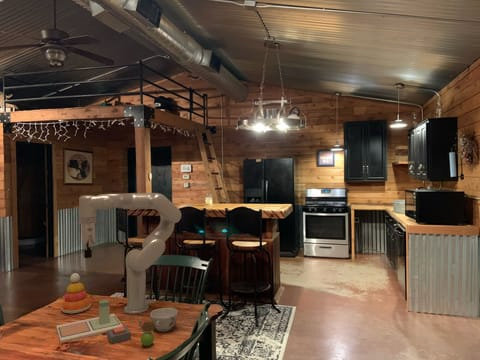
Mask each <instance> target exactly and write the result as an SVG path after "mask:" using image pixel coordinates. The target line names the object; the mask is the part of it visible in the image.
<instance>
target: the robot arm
mask: <svg viewBox="0 0 480 360" xmlns="http://www.w3.org/2000/svg"><path fill="white" fill-rule="evenodd" d="M78 199H79V200H78V201H79V203H78V209H79V211H78V213H79V214H78V215H79V218H78V220H79V225H81V243H83V246H84V247H83V248H84V249H83V257H84V258H85V259H91V258H93V257H92V256H93V250H92V249H93V248H92V247H93V246H92V244H96V242H97V241H96V227H95V226H96V225H95V224H96V223H97V210H99V211H100V210H101V211H106V210H109V209H126V210H147V209H149V210H151V209H154V210H156V212H158V213H159V217H160V221H159V224H158V225H157V227H156V228H155V229H153V231H152V232H151V233H150V234H149V235H148V236H146V237H145V238H144V239H143V241H142V244H141V245H142V248H141V250H140V249H135V248H134V249H132V250H130V251H128V253H127V254H126V257H125V269H126V306H125V307H124V308H123V311H124V313H126V314H141V313H144V312H146V311H148V310H149V305H151V304H155V303H156V301H155V299H151V298H149V299H147V296H146V295H147V294H146V289H147V288H146V279H147V278H146V271H147V269H150V267H151V266H152V265H153V264H154V263H156V261H157V260H158V259H159V258H160V257H161V256H162V255H163V253H164V252H165V250H166V241H167V240H168V238H170V236H171V235H172V234H173V233H174V229H175V224H176V223H177V224H178V223H179V222H180V220H181V219H182V212H181V210H180V208H178V206H176V205H175V204H174V203H173V202H172V201H170V199H168V198H167V196H165V195H164V194H162V193H158V192H131V193H130V192H129V193H127V192H126V193H104V194H103V193H100V194H97V195H90V194H89V195H88V194H87V195H86V194H85V195H81V196H80V197H79V198H78Z"/></svg>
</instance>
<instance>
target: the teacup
mask: <svg viewBox="0 0 480 360" xmlns="http://www.w3.org/2000/svg"><path fill="white" fill-rule="evenodd" d="M178 312H179V311H178V309H177V308H174V307H162V308H157V309H154V310H152V311H151V312H150V314H149V315H150V316H149V317H150V321H152V322H153V325H154V326H153V328H155V329H156V331H159V332H168V331H170V330H171V329H172V328H173V327H174V326H175V324H176V322H177V319H178Z"/></svg>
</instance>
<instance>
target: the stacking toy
mask: <svg viewBox="0 0 480 360" xmlns="http://www.w3.org/2000/svg"><path fill="white" fill-rule="evenodd" d="M69 279H70V282H71V283H70V284H69V285H67V287H66V292H65V295H64V301H63V303H62V305H61V306H62V307H61V308H60V310H61V311H62V313H65V314H70V315H73V314H77V313H81V312H85V311H86V310H88V309H89V308H90V307H91V305H92V304H91V302H90V300H89V298H88V297H87V296H88V294H87V292H86V290H85V286H84V285H83V283H82V282H80V280H81V276H80V275H79V274H78V273H76V272H75V273H72V274H71V275H70V278H69Z"/></svg>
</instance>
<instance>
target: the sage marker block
mask: <svg viewBox="0 0 480 360" xmlns="http://www.w3.org/2000/svg"><path fill="white" fill-rule="evenodd" d="M98 317H99V323H100V324H101V325H102V324H107V323H110V300H109V299H102V300H99V301H98Z"/></svg>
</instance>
